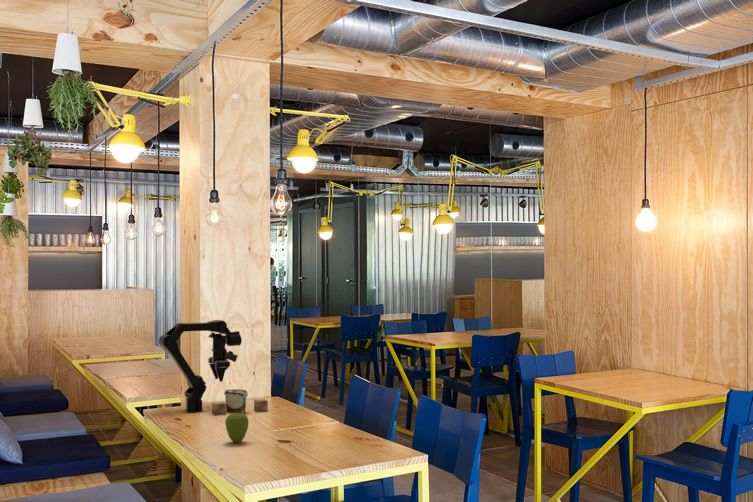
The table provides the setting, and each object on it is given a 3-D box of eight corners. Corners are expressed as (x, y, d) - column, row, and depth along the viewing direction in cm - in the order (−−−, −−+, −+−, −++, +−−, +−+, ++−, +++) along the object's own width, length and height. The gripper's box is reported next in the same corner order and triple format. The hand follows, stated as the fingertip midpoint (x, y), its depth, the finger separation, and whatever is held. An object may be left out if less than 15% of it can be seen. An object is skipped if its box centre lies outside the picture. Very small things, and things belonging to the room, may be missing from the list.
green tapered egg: (223, 441, 270) (223, 410, 271) (245, 439, 273) (246, 408, 274) (227, 446, 262) (227, 414, 262) (250, 444, 265) (250, 412, 265)
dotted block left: (214, 415, 318) (214, 404, 318) (212, 413, 322) (212, 402, 322) (225, 414, 320) (225, 403, 320) (223, 413, 324) (223, 401, 324)
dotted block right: (257, 412, 325) (257, 401, 325) (254, 410, 329) (254, 399, 329) (267, 411, 327) (267, 400, 327) (264, 409, 331) (264, 398, 332)
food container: (253, 412, 324) (253, 390, 324) (244, 415, 319) (244, 392, 319) (233, 410, 331) (233, 388, 331) (224, 412, 325) (224, 390, 326)
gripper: (241, 348, 331) (240, 381, 330) (231, 344, 348) (231, 376, 347) (216, 349, 326) (216, 383, 325) (208, 345, 343) (208, 378, 342)
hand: (218, 380), depth 335 cm, fingers open, 9 cm apart
